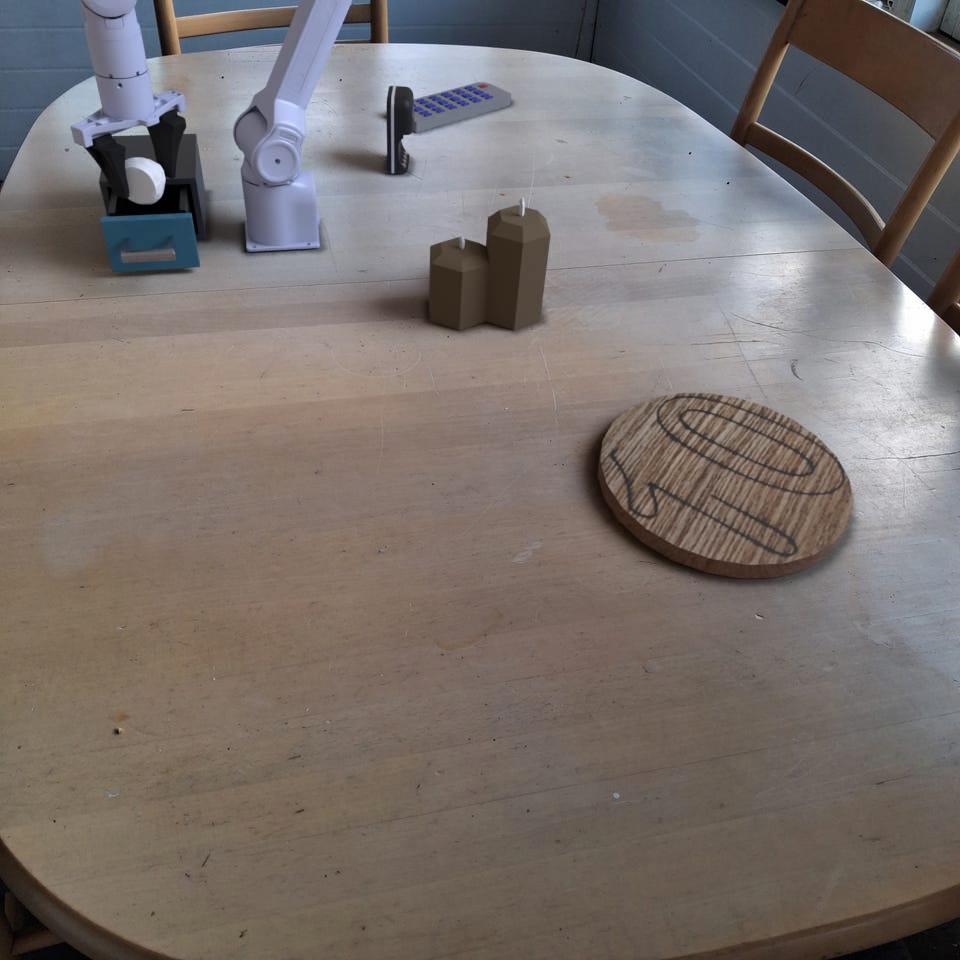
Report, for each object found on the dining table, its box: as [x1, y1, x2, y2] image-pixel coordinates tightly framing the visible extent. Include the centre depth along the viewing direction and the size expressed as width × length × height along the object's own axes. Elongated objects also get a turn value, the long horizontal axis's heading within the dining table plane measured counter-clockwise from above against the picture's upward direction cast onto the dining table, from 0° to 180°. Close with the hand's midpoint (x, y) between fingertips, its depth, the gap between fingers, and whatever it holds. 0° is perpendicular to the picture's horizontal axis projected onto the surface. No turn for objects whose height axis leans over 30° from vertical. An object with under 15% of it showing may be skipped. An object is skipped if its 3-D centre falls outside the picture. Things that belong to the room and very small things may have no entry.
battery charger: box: [386, 84, 415, 175], centre depth 136 cm, size 7×4×11 cm, turn 0°
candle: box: [428, 197, 552, 331], centre depth 107 cm, size 14×14×15 cm
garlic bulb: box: [125, 157, 166, 205], centre depth 109 cm, size 6×6×5 cm
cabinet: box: [98, 133, 207, 241], centre depth 121 cm, size 14×12×9 cm
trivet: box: [597, 392, 855, 580], centre depth 91 cm, size 25×25×2 cm
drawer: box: [99, 184, 201, 273], centre depth 113 cm, size 17×10×7 cm, turn 12°
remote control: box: [412, 81, 512, 134], centre depth 156 cm, size 8×23×2 cm, turn 132°
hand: (144, 185), depth 110 cm, fingers closed on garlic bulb, 6 cm apart
